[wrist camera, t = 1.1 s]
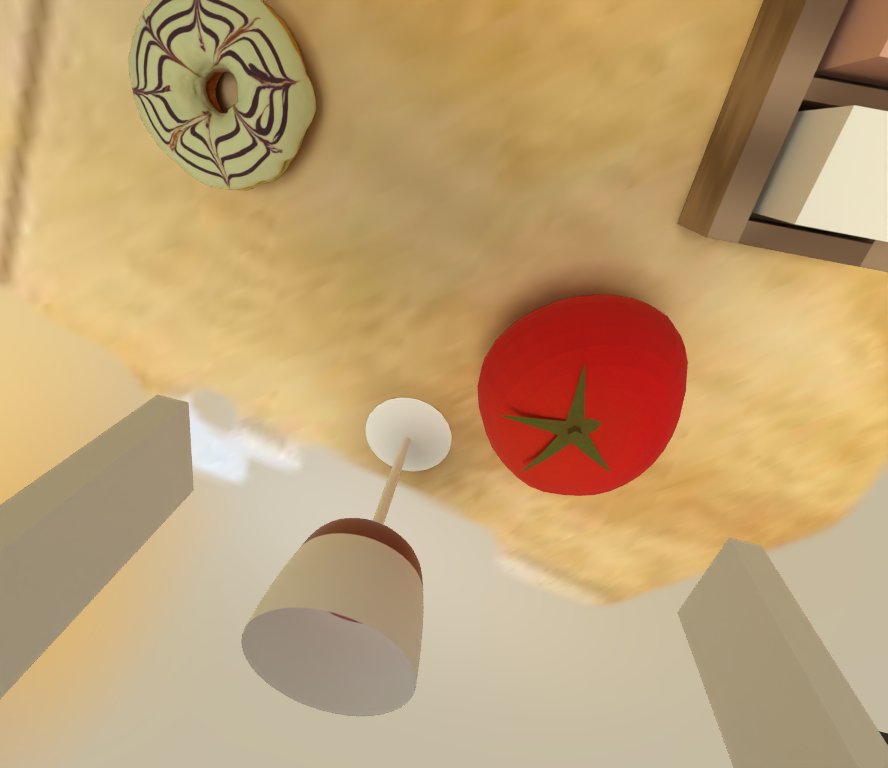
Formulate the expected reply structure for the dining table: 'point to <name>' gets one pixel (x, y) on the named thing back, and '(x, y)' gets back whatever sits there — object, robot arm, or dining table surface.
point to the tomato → (583, 393)
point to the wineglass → (353, 591)
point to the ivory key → (832, 173)
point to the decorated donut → (194, 81)
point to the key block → (776, 135)
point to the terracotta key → (859, 44)
